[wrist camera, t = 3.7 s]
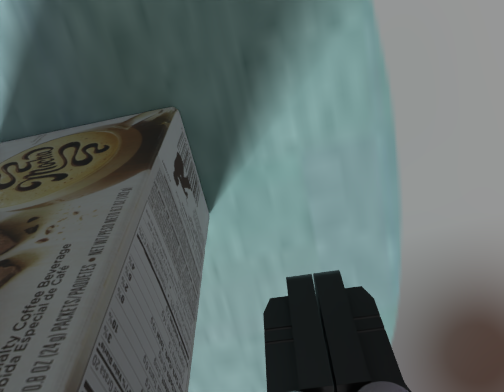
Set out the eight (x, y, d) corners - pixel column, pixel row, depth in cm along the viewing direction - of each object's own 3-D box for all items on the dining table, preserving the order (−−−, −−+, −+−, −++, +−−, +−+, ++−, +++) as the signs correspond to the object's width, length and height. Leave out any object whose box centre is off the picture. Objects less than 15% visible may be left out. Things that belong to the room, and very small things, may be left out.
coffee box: (51, 248, 24) (-229, 684, 10) (-7, 139, 21) (-547, 556, 7) (214, 218, 23) (165, 649, 9) (180, 101, 20) (19, 483, 6)
